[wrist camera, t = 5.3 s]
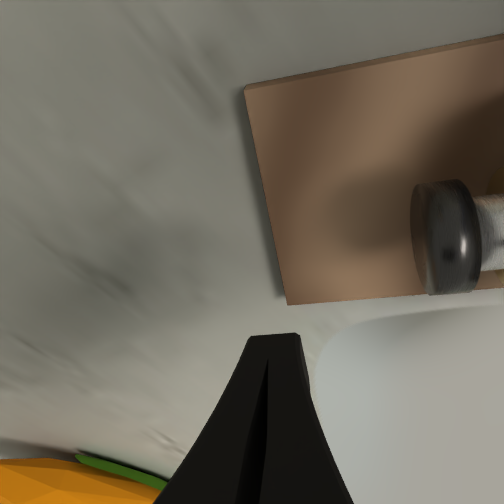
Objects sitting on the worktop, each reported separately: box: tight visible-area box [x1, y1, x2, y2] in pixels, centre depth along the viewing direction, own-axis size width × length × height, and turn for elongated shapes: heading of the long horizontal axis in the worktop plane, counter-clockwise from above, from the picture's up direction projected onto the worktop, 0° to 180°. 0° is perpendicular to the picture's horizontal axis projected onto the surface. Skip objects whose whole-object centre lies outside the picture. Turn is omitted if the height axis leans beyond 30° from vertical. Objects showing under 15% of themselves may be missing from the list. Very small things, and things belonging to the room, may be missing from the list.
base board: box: [244, 34, 504, 305], centre depth 16 cm, size 16×11×1 cm, turn 102°
